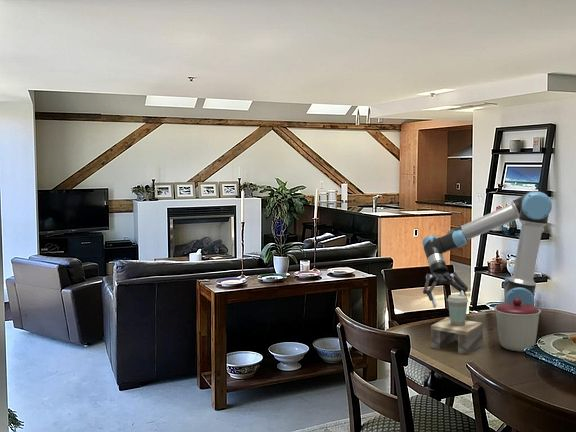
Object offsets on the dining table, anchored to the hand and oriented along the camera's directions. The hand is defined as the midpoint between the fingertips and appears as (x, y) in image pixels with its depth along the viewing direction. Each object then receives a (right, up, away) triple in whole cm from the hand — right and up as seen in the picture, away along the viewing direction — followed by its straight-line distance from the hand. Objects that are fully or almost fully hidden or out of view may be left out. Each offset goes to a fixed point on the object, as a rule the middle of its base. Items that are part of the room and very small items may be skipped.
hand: (450, 305), depth 242 cm
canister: (+25, -16, -10) cm, 31 cm away
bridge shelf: (+1, -16, -6) cm, 17 cm away
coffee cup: (+1, -7, -6) cm, 10 cm away
